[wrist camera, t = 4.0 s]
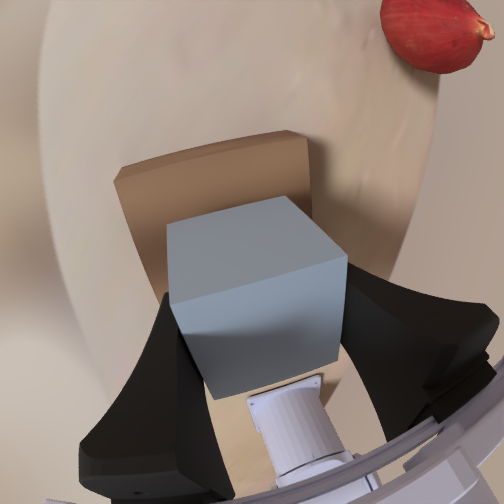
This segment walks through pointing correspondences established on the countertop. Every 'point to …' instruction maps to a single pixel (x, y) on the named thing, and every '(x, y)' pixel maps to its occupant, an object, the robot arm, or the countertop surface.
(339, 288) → the cube
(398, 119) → the countertop surface
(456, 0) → the onion
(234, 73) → the countertop surface
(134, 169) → the base
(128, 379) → the robot arm
